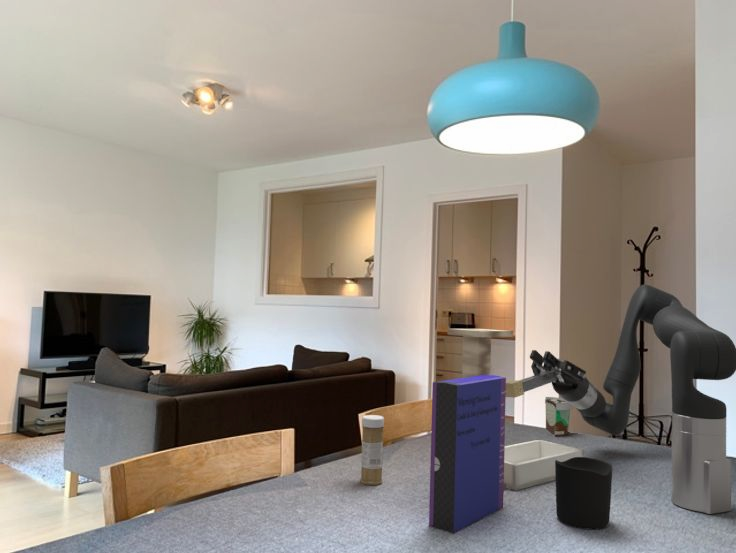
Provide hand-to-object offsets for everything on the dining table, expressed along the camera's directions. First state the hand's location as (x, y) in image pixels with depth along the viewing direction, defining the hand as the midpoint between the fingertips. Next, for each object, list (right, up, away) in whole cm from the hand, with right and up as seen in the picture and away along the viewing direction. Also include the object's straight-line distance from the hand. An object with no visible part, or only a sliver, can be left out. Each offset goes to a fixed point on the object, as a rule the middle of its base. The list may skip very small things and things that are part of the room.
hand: (539, 354), depth 136 cm
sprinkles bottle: (-38, -25, -13) cm, 48 cm away
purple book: (-22, -25, -31) cm, 45 cm away
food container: (+18, -29, +41) cm, 54 cm away
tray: (-3, -26, -3) cm, 27 cm away
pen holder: (-2, -25, -32) cm, 41 cm away
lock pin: (-2, -7, -2) cm, 8 cm away
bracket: (-17, -25, -14) cm, 34 cm away
